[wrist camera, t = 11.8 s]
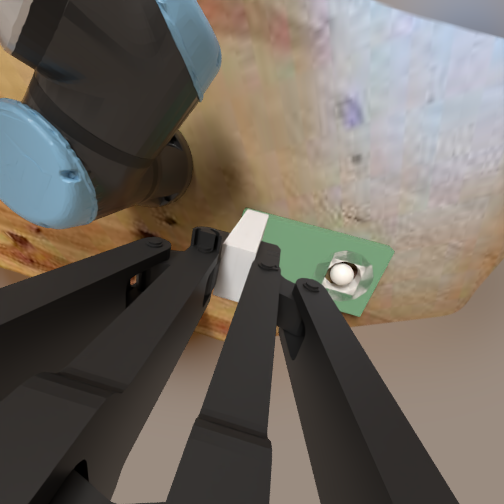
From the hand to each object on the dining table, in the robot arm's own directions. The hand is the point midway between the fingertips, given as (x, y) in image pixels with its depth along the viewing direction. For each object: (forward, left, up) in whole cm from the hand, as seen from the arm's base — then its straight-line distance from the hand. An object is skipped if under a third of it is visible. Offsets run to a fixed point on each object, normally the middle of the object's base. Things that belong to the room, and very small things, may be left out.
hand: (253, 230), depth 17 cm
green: (+9, -13, -26) cm, 31 cm away
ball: (+16, -12, -24) cm, 32 cm away
